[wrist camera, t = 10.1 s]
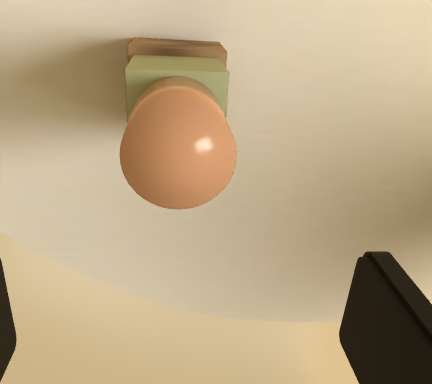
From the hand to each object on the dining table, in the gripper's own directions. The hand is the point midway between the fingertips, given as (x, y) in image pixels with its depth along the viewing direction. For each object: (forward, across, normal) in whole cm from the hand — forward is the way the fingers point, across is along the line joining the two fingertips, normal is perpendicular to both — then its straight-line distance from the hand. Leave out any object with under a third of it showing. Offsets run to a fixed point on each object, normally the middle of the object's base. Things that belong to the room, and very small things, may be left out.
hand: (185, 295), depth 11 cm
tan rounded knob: (+16, 0, 0) cm, 16 cm away
